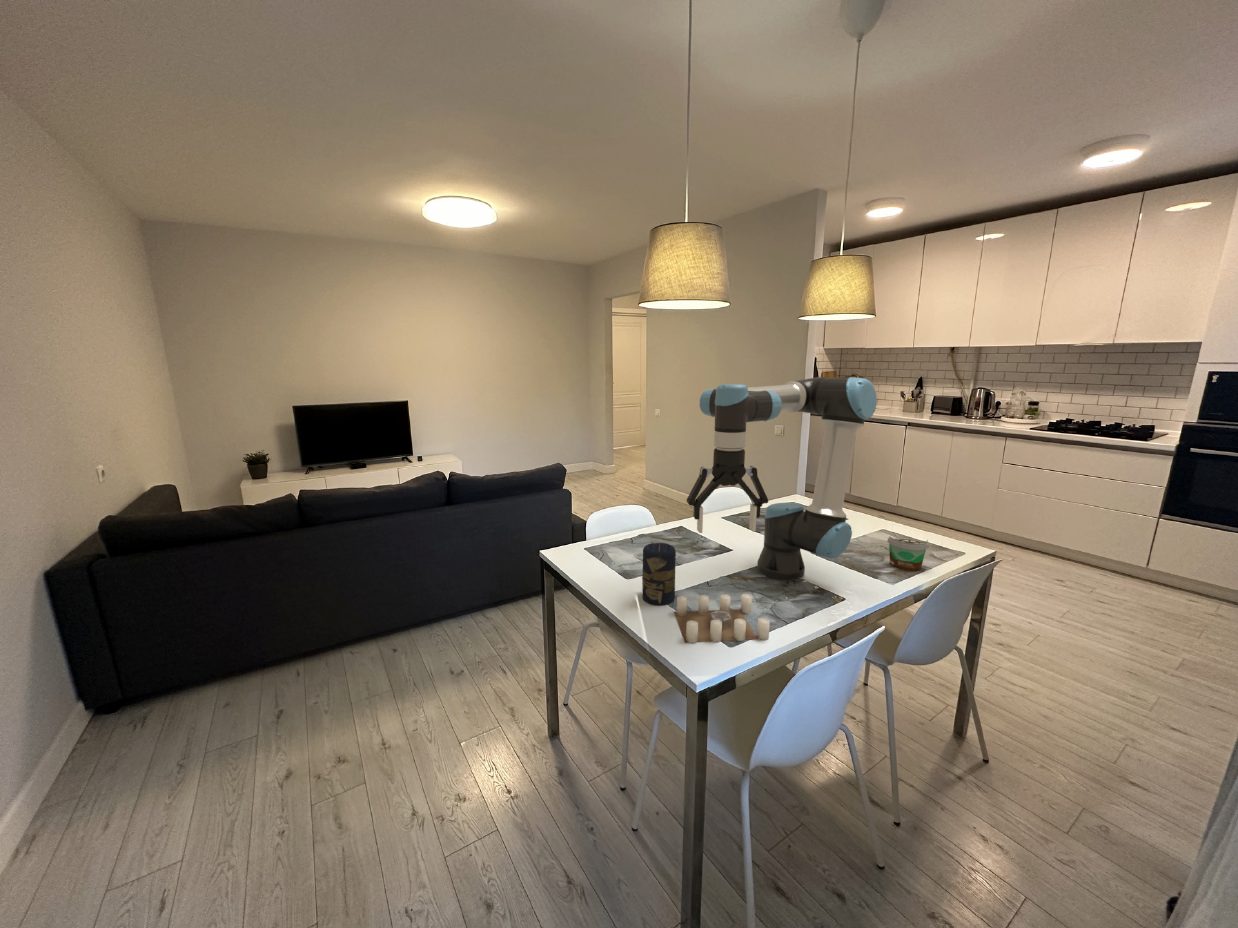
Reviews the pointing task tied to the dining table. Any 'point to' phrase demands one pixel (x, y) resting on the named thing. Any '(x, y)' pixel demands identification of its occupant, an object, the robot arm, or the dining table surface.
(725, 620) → the nut
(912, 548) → the food container
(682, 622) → the board
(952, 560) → the dining table surface
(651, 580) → the canister
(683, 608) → the spacers
